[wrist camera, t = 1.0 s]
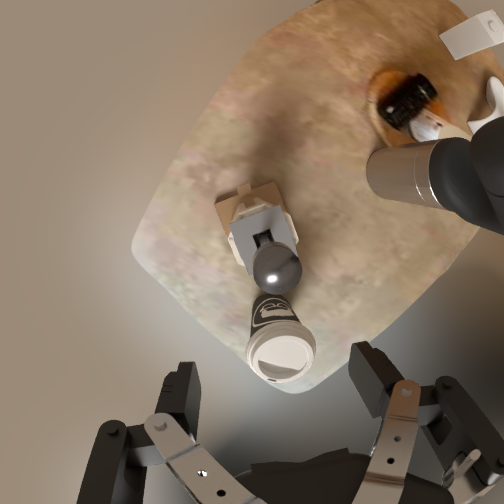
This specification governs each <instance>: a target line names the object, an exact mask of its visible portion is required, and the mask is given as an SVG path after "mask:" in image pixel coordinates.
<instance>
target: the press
mask: <svg viewBox="0 0 504 504" xmlns="http://www.w3.org/2000/svg"><path fill="white" fill-rule="evenodd" d="M236 189H237V192H238V195H236V196H233V197H231V198H228V199H225V200H223V201H221V202H218V203H216V204H214V206H215V208H216V211H217V213H218V216H219V218H220V221H221V223H222V225H223V228H224V230H225V233H226V235H227V238H228V241H229V243H230V246H231V248H232V251H233V253H234V255H235V258H236V260H237V263H238V264H240V265H243V266H245V267H246V269H247V272H248V274H249V275H250V274H253V268H252V259H253V256H254V254H255V252H256V250H257V246H256V244H255V241H254V239H253V236H252V235H254V234H257V233H260V232H262V231H265V230H267V229H270V231H271V234H272V237H273V239H274V241H276V242H281V243H284V244H286V245H287V246H289V247H290V248H291V250H292V251H293V252H294V253H295V255H296V256H298V254H297V251H296V248H295V247H296V245H297V243H298V241H299V239H298V236H297V233H296V231H295V228H294V225H293V222H292V219H291V216H290V215H289V214H288V213H287V211H286V209H285V206H284V203H283V201H282V198H281V195H280V192H279V190H278V187H277V184H276V182H275V181H273V182H270V183H267V184H264V185H262V186H259V187H256V188H254V189H251V186H250V184H249V183H246V184H244V185H241V186H239V187H236Z"/></svg>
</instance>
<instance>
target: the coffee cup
mask: <svg viewBox="0 0 504 504" xmlns="http://www.w3.org/2000/svg"><path fill="white" fill-rule="evenodd" d="M315 352H316V342H315V339H314V336H313V335H312V333H311V332H310V331H309V330H308V329H307V328H306V327H304V326H303V325H302V324H301V322H300V321H299V319H298V318H297V316H296V314H295V313H294V311H293V310H292V308H291V307H290V305H289V303H288V302H287V300H286V299H285V298H284V297H283V296H281V295H279V294H278V295H274V294H265V295H262V296H261V297H259V298H258V299H257V300H256V301H255V303H254V305H253V309H252V322H251V335H250V340H249V342H248V344H247V347H246V359H247V362H248V364H249V366H250V367H251V369H252V370H253V371H254V372H255V373H256V374H258V375H259V376H260V377H261V378H263V379H264V380H266V381H269V382H274V383H284V382H289V381H292V380H295V379H297V378H299V377H301V376H302V375H303V374H304V373H306V372H307V370H308V369H309V368H310V366H311V364H312V361H313V359H314V356H315Z"/></svg>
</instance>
